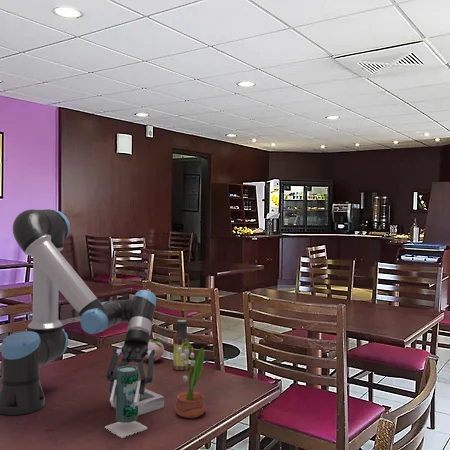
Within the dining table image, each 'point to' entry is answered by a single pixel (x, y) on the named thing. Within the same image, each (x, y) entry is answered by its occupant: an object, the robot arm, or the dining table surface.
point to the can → (126, 394)
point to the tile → (125, 428)
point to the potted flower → (191, 386)
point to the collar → (148, 402)
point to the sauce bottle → (178, 342)
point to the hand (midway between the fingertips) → (124, 403)
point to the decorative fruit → (157, 347)
